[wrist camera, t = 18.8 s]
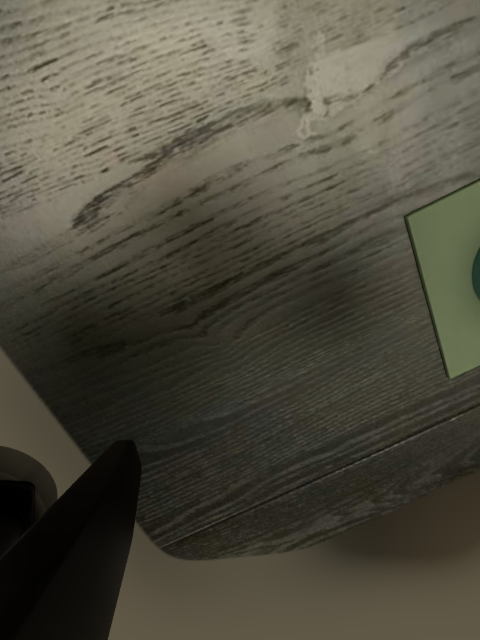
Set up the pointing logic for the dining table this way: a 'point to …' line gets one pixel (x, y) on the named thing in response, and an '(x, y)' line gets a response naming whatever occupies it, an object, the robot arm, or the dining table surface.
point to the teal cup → (476, 274)
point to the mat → (450, 273)
